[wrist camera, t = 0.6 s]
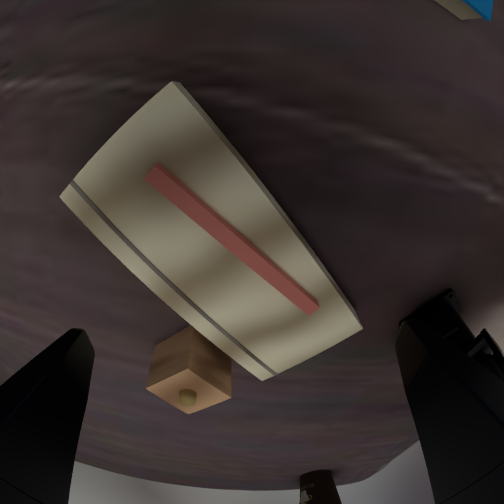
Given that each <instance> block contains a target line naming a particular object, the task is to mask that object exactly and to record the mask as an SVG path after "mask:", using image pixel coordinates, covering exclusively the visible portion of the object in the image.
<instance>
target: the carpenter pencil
mask: <svg viewBox="0 0 504 504" xmlns="http://www.w3.org/2000/svg"><path fill="white" fill-rule="evenodd" d="M144 179H145V180H146V181H147V182H148V183H149V184H151V185H152V186H153V187H154V188H155V189H156V190H158V191H159V192H160V193H161V194H162V195H163V196H165V197H166V198H167V199H168V200H169V201H171V202H172V203H173V204H174V205H175V206H177V207H178V208H179V209H180V210H181V211H182V212H184V213H185V214H186V215H187V216H188V217H190V218H191V219H192V220H193V221H194V222H196V223H197V224H198V225H199V226H200V227H202V228H203V229H204V230H205V231H206V232H208V233H209V234H210V235H211V236H212V237H214V238H215V239H216V240H217V241H218V242H220V243H221V244H222V245H223V246H224V247H226V248H227V249H228V250H229V251H230V252H232V253H233V254H234V255H235V256H236V257H238V258H239V259H240V260H241V261H242V262H244V263H245V264H246V265H247V266H248V267H250V268H251V269H252V270H253V271H255V272H256V273H257V274H258V275H259V276H261V277H262V278H263V279H264V280H265V281H267V282H268V283H269V284H270V285H272V286H273V287H274V288H275V289H276V290H278V291H279V292H280V293H281V294H283V295H284V296H285V297H286V298H287V299H289V300H290V301H291V302H292V303H294V304H295V305H296V306H297V307H298V308H300V309H301V310H302V311H303V312H305V313H306V314H307V315H308V316H309V315H310V314H312V313H313V312H314V311H316V310H317V309H319V308H320V307H319V304H318V301H317V300H316V299H315V298H313V297H312V296H311V295H310V294H309V293H308V292H307V291H305V290H304V289H303V288H302V287H301V286H300V285H299V284H297V283H296V282H295V281H294V280H293V279H292V278H291V277H289V276H288V275H287V274H286V273H285V272H284V271H283V270H281V269H280V268H279V267H278V266H277V265H276V264H275V263H273V262H272V261H271V260H270V259H269V258H268V257H267V256H265V255H264V254H263V253H262V252H261V251H260V250H259V249H257V248H256V247H255V246H254V245H253V244H252V243H251V242H249V241H248V240H247V239H246V238H245V237H244V236H242V235H241V234H240V233H239V232H238V231H237V230H236V229H234V228H233V227H232V226H231V225H230V224H229V223H228V222H226V221H225V220H224V219H223V218H222V217H221V216H219V215H218V214H217V213H216V212H215V211H214V210H213V209H211V208H210V207H209V206H208V205H207V204H206V203H204V202H203V201H202V200H201V199H200V198H199V197H198V196H196V195H195V194H194V193H193V192H192V191H191V190H189V189H188V188H187V187H186V186H185V185H184V184H183V183H181V182H180V181H179V180H178V179H177V178H176V177H174V176H173V175H172V174H171V173H170V172H169V171H167V170H166V169H165V168H164V167H163V166H162V165H160V164H159V163H157V164H156V165H155V166H154V167H153V168H152V170H151V171H150V172H149V173H148V174H147V176H146V177H145V178H144Z"/></svg>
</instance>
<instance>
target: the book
mask: <svg viewBox="0 0 504 504" xmlns="http://www.w3.org/2000/svg"><path fill="white" fill-rule="evenodd" d="M434 1H436V2H437V3H439V4H440V5H442V6H443V7H444V8H446V9H447V10H449V11H450V12H451V13H453V14H454V15H455V16H457V17H458V18H459V19H461V20H466V19H475V18H484V19H485V20H486V21H489V20H491V14H492V6H493V0H434Z"/></svg>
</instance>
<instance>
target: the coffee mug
mask: <svg viewBox="0 0 504 504" xmlns="http://www.w3.org/2000/svg"><path fill="white" fill-rule="evenodd" d="M299 504H342V503H341V500H340V497H339V494H338V492H337V489H336V486H335V483H334V480H333V477H332V474H331V471H330V470H318V471H313V472H309V473H306V474H303V475H302V476H300V503H299Z"/></svg>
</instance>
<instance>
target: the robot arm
mask: <svg viewBox="0 0 504 504" xmlns="http://www.w3.org/2000/svg"><path fill="white" fill-rule="evenodd" d="M399 327H400V330H399V333H398V335H397V338H396V340H395V350H396V354H397V358H398V362H399V367H400V371H401V376H402V380H403V385H404V389H405V393H406V396H407V400H408V403H409V406H410V409H411V412H412V416H413V419H414V422H415V426H416V429H417V432H418V436H419V440H420V443H421V447H422V451H423V454H424V458H425V462H426V466H427V470H428V474H429V478H430V483H431V487H432V491H433V496H434V501H435V504H504V353H503V351H502V350H501V349H500V347H499V346H498V344H497V343H496V342H495V340H494V339H493V338H492V337H491V336H490V334H489V333H488V332H487V331H486V330H485V328H484V329H483V330H482V331H481V332H480V334H479V335H478V336H477V337H476V338H475V336H474V335H473V333H472V332H471V331H470V329H469V328H468V326H467V325H466V324H465V322H464V321H463V319H462V318H461V317H460V314H459V310H458V305H457V301H456V296H455V293H454V291H453V290H452V289H449V290H447V291H446V292H445V293H443V294H442V295H440V296H439V297H438V298H436V299H435V300H433V301H432V302H430V303H429V304H428V305H426V306H425V307H423V308H422V309H420V310H419V311H417V312H416V313H414V314H413V315H411V316H409V317H408V318H406V319H405V320H403V321H402V322H401V323H400V324H399ZM492 353H493V354H492ZM491 354H492V355H491ZM94 357H95V352H94V348H93V346H92V344H91V341H90V339H89V337H88V335H87V333H86V331H85V330H84V329H77V328H72V329H70V330H69V331H67V332H66V333H65V334H63V335H62V336H61V337H60V338H58V339H57V340H56V341H55V342H53V343H52V344H51V345H49V346H48V347H47V348H46V349H44V350H43V351H42V352H41V353H39V354H38V355H37V356H36V357H35V358H33V359H32V360H31V361H30V362H28V363H27V364H26V365H25V366H24V367H22V368H21V369H20V370H19V371H17V372H16V373H15V374H14V375H13V376H11V377H10V378H9V379H8V380H7V381H5V382H4V383H3V384H2V385H1V386H0V504H68V500H69V492H70V485H71V478H72V473H73V466H74V461H75V455H76V450H77V445H78V440H79V435H80V431H81V426H82V422H83V417H84V413H85V409H86V405H87V400H88V394H89V387H90V381H91V374H92V368H93V363H94Z"/></svg>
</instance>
